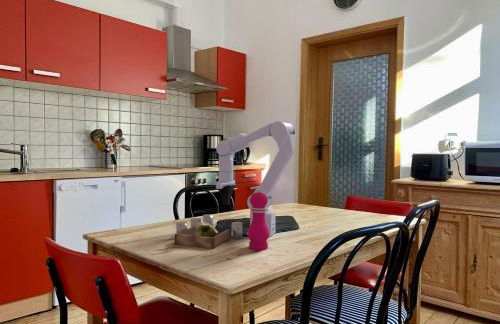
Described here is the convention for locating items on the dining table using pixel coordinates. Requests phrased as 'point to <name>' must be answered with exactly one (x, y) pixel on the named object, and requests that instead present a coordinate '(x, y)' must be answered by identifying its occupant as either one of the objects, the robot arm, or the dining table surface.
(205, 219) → the grey metal cylinder
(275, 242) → the dining table surface
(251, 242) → the pepper mill
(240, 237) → the tin left
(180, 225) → the tin right far
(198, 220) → the tin right near
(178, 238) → the tray
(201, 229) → the pale green lumpy ball
